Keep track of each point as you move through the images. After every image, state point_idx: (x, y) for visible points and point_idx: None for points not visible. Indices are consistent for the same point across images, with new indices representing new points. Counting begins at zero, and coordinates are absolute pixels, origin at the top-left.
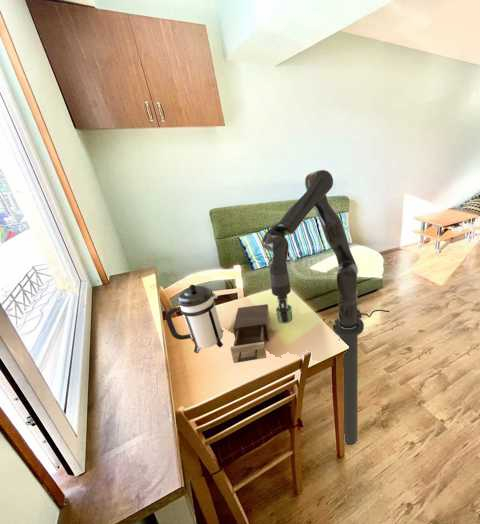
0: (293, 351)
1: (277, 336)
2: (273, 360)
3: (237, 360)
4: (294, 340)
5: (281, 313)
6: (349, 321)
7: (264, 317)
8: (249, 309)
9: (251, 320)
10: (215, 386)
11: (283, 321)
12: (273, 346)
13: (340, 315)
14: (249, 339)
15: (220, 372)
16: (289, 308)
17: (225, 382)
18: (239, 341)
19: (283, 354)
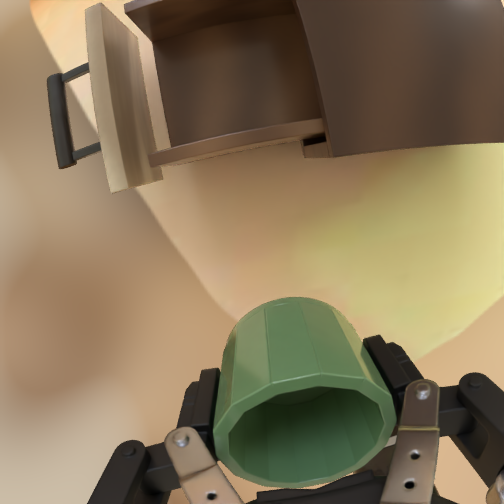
0: (235, 288)
1: (357, 189)
2: (174, 206)
3: (47, 79)
4: (316, 281)
5: (109, 476)
6: (354, 473)
7: (416, 128)
8: (489, 27)
9: (379, 35)
10: (59, 34)
11: (190, 386)
12: (278, 183)
13: (381, 466)
14: (290, 53)
15: (120, 11)
16: (341, 445)
17: (70, 56)
18: (235, 10)
19: (215, 246)
